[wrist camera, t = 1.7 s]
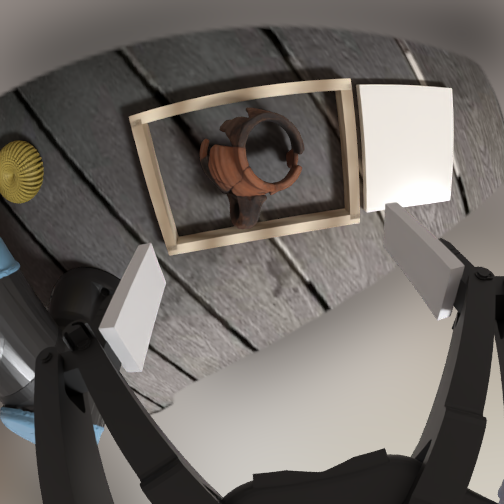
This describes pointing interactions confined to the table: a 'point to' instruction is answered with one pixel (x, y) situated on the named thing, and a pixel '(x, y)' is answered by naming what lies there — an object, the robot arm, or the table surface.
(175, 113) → the frame
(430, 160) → the ceramic tile
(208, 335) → the table surface
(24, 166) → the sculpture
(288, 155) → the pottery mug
